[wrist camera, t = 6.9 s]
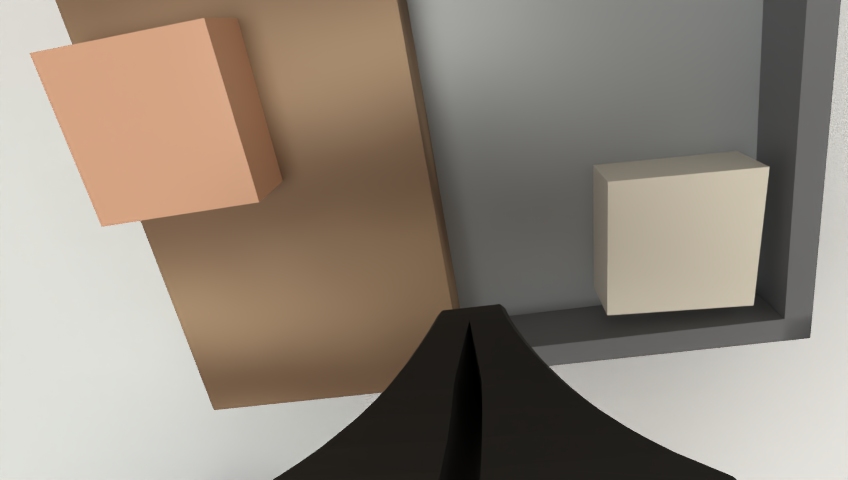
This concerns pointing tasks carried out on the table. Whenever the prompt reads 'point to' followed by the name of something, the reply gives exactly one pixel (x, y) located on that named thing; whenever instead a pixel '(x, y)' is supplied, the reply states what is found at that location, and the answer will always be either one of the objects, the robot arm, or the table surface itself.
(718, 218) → the cream tile
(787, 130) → the bin
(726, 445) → the table surface
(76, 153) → the terracotta tile
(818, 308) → the table surface
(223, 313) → the walnut board
